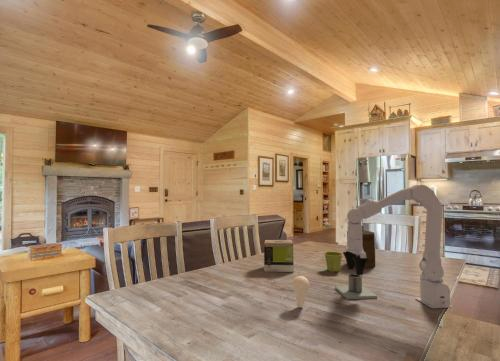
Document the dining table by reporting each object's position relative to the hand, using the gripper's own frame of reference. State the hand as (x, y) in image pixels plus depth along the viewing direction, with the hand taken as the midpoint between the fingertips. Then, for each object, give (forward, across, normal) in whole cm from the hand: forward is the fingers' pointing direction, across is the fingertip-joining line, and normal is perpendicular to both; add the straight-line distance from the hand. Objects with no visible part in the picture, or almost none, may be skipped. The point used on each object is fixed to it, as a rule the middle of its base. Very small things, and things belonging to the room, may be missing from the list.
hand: (355, 272), depth 119 cm
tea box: (+9, -37, -24) cm, 45 cm away
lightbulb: (+9, +12, -26) cm, 30 cm away
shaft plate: (+8, 0, 0) cm, 9 cm away
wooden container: (+9, -43, +24) cm, 50 cm away
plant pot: (+9, -33, +4) cm, 34 cm away
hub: (+8, 0, 0) cm, 8 cm away
